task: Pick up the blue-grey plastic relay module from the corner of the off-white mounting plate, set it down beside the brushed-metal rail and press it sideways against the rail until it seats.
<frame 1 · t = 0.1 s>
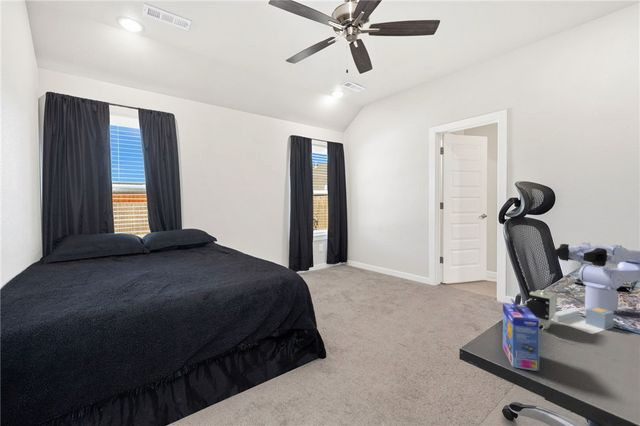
hand: (569, 254, 93), 22 cm above the table, tool horizontal, fingers open, 7 cm apart
pneumatic valve: (540, 329, 88), on the table
ink cartridge box: (518, 359, 72), on the table
module: (599, 324, 89), point 1 cm above the table, touching rail board
rail board: (580, 326, 90), on the table
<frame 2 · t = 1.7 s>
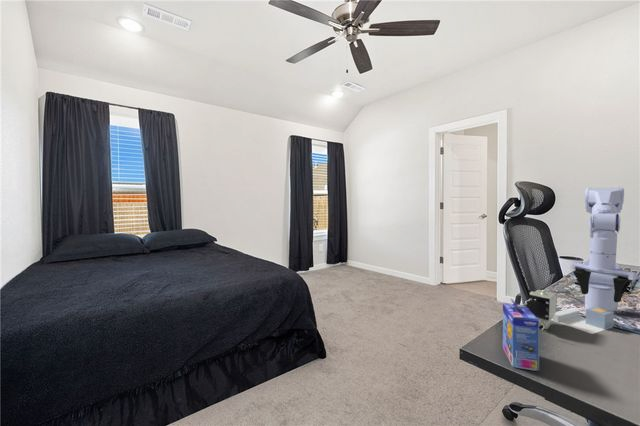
hand: (600, 297, 88), 10 cm above the table, tool pointing down, fingers open, 7 cm apart
nothing on the table moved.
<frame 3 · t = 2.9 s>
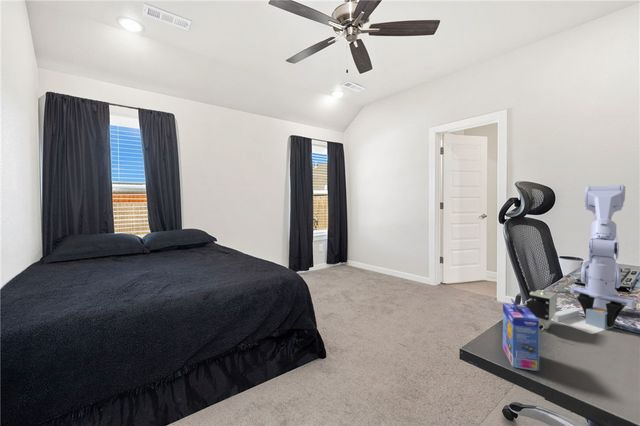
hand: (599, 322, 89), 2 cm above the table, tool pointing down, fingers closed on module, 4 cm apart
module: (599, 325, 89), point 1 cm above the table, touching gripper, rail board
everything else where it was.
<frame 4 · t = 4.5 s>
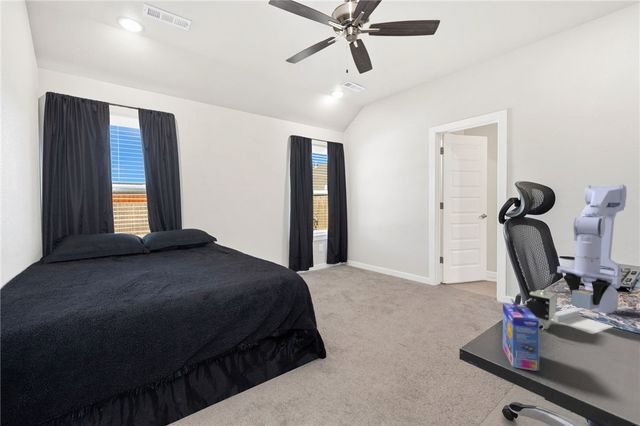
hand: (585, 301, 88), 8 cm above the table, tool pointing down, fingers closed on module, 4 cm apart
module: (585, 306, 88), point 7 cm above the table, touching gripper
everything else where it was.
when the fingers open (3 cm above the table, at t = 5.9 s): module stays where it is, resting on rail board.
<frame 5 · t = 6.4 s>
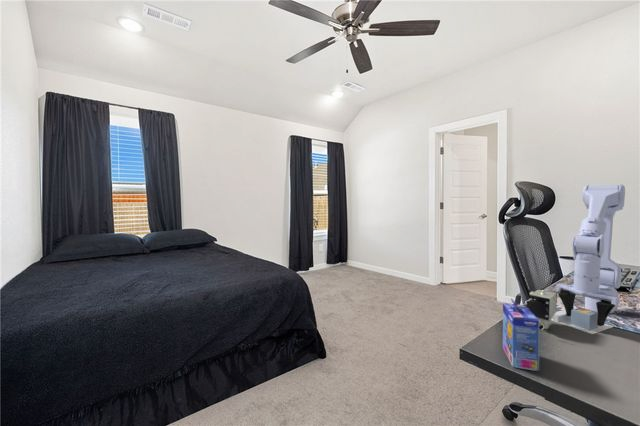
hand: (584, 320, 88), 3 cm above the table, tool pointing down, fingers open, 7 cm apart
module: (584, 325, 88), point 1 cm above the table, touching rail board
everything else where it was.
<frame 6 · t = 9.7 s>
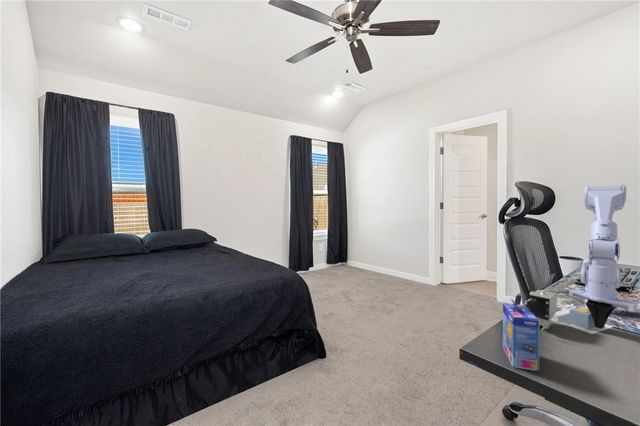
hand: (599, 327, 85), 2 cm above the table, tool pointing down, fingers closed
module: (582, 325, 89), point 1 cm above the table, touching gripper
everything else where it was.
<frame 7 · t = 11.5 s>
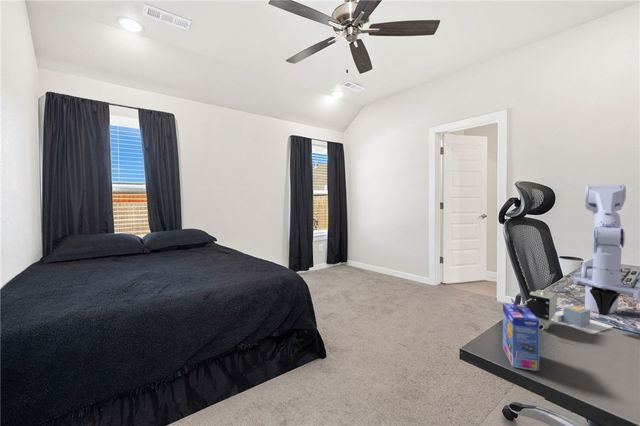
hand: (603, 314, 85), 6 cm above the table, tool pointing down, fingers closed
module: (576, 323, 90), point 1 cm above the table, touching rail board
everything else where it was.
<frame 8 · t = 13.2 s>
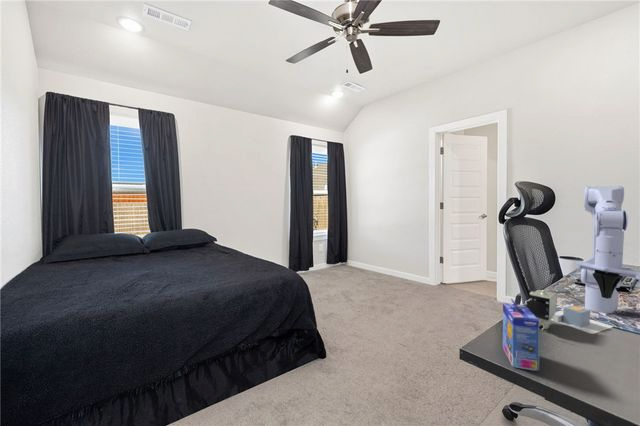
hand: (606, 297, 86), 10 cm above the table, tool pointing down, fingers closed
nothing on the table moved.
at the end: module 0.3 cm from the target spot, point 1.0 cm above the table; module tilted 0°; the gripper is holding nothing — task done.
